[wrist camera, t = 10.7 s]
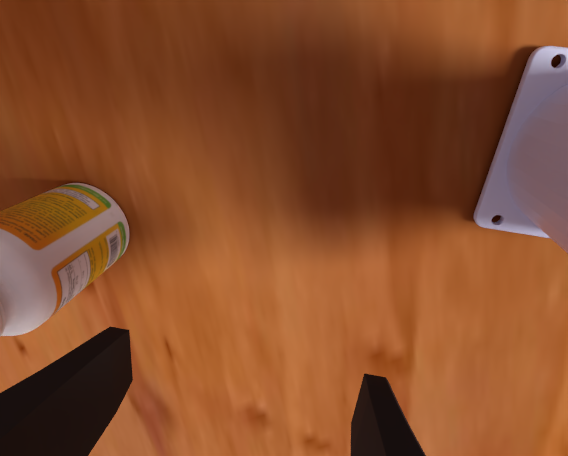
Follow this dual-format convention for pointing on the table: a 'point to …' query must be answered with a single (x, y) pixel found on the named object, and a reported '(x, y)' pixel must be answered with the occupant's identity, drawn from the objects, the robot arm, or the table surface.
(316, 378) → the table surface
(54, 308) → the supplement bottle
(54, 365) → the robot arm
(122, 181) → the table surface
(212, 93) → the table surface
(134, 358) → the table surface
